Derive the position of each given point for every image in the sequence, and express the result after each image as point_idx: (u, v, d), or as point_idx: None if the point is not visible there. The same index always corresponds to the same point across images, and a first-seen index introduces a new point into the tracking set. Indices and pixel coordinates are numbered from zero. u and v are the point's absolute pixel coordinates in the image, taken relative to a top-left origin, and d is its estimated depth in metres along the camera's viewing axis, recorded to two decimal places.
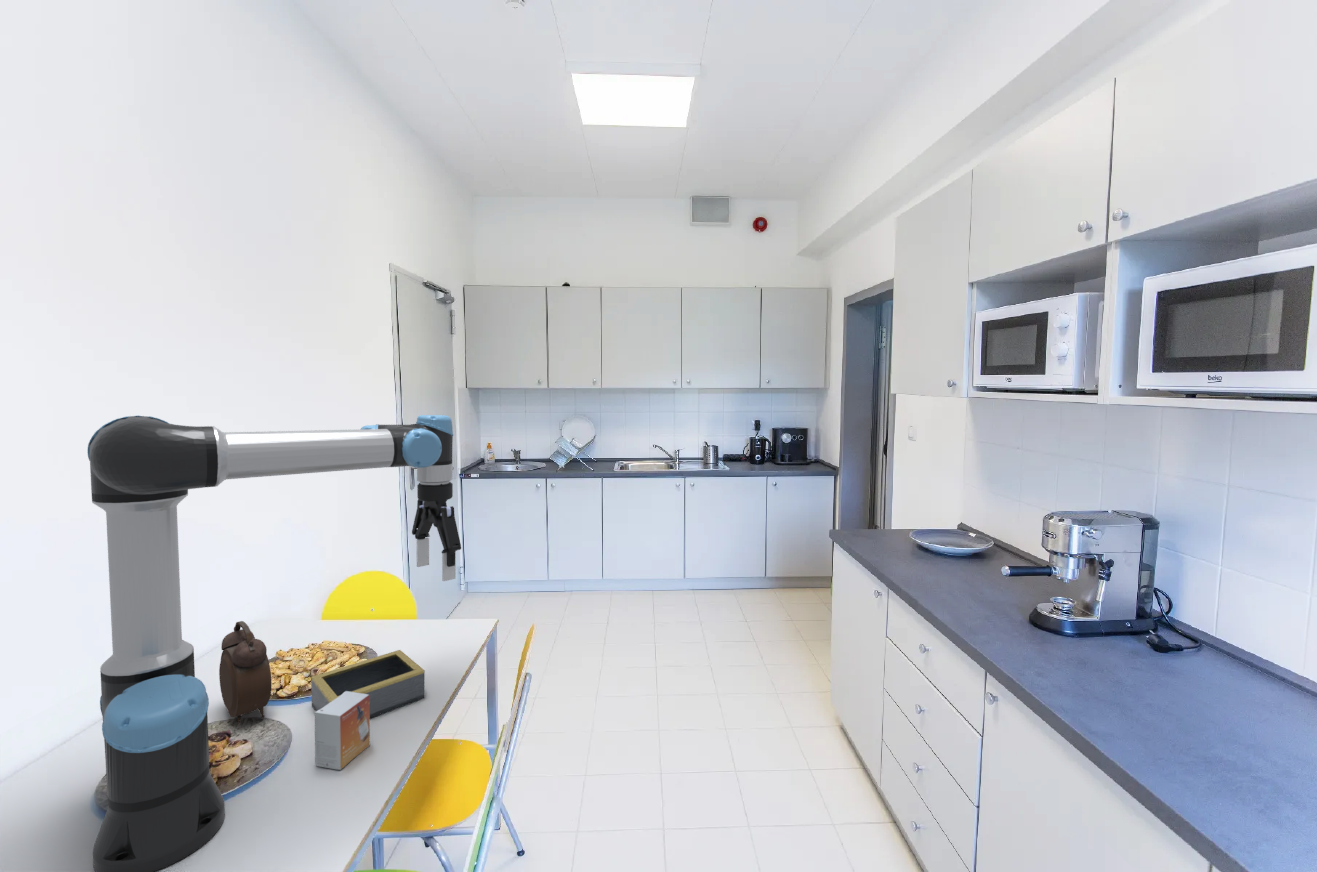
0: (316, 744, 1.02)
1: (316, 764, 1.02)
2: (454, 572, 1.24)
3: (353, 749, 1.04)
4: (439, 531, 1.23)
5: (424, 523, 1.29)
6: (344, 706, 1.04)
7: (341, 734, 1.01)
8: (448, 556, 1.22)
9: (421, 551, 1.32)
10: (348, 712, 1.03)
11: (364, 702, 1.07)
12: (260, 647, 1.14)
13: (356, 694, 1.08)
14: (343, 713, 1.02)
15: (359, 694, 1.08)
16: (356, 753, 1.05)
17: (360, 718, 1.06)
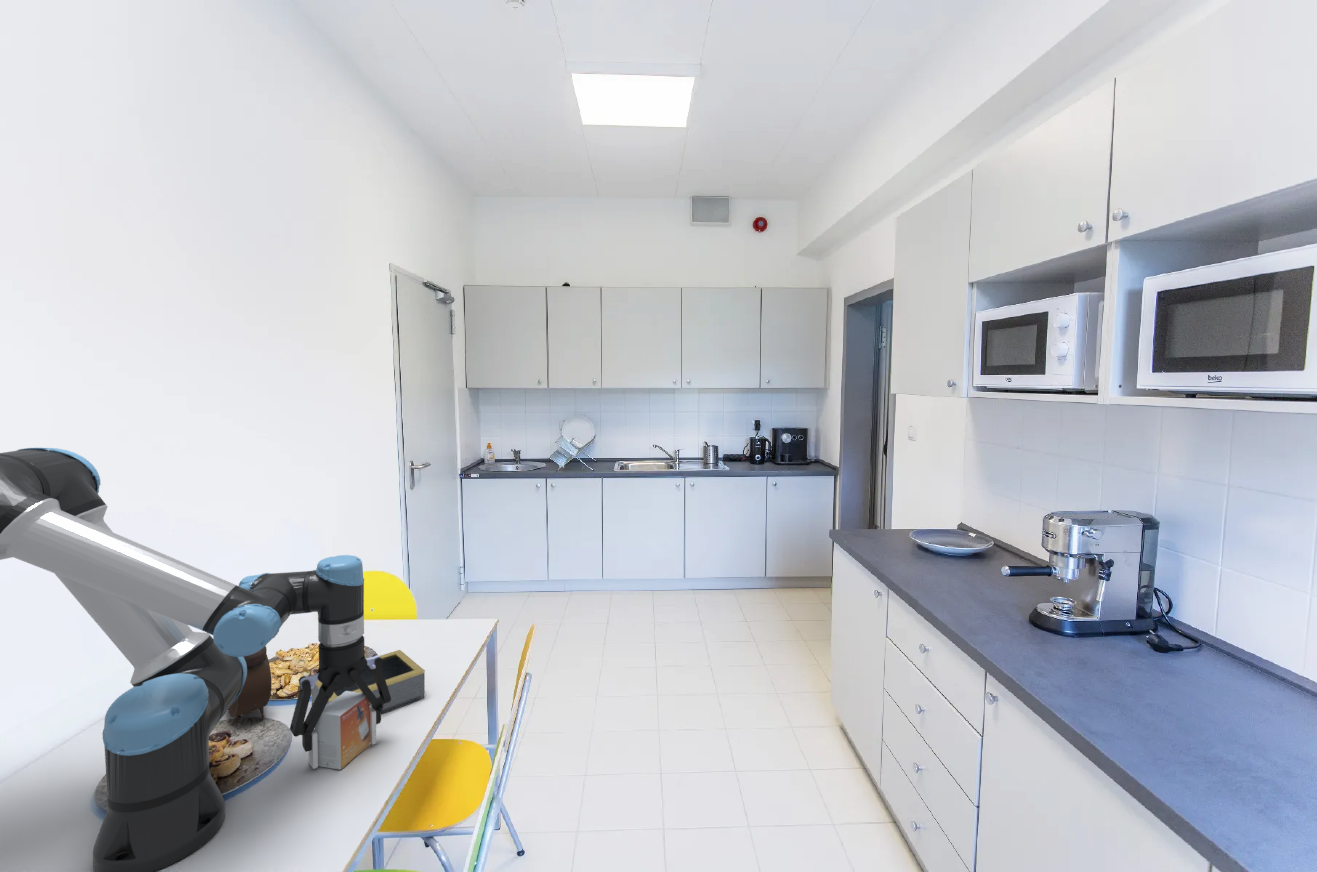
0: None
1: None
2: (312, 760, 1.01)
3: (354, 749, 1.04)
4: None
5: None
6: (344, 706, 1.04)
7: (341, 734, 1.01)
8: None
9: None
10: (348, 712, 1.03)
11: (364, 702, 1.07)
12: None
13: (356, 694, 1.08)
14: (343, 712, 1.02)
15: (359, 694, 1.08)
16: (356, 753, 1.05)
17: (360, 718, 1.06)
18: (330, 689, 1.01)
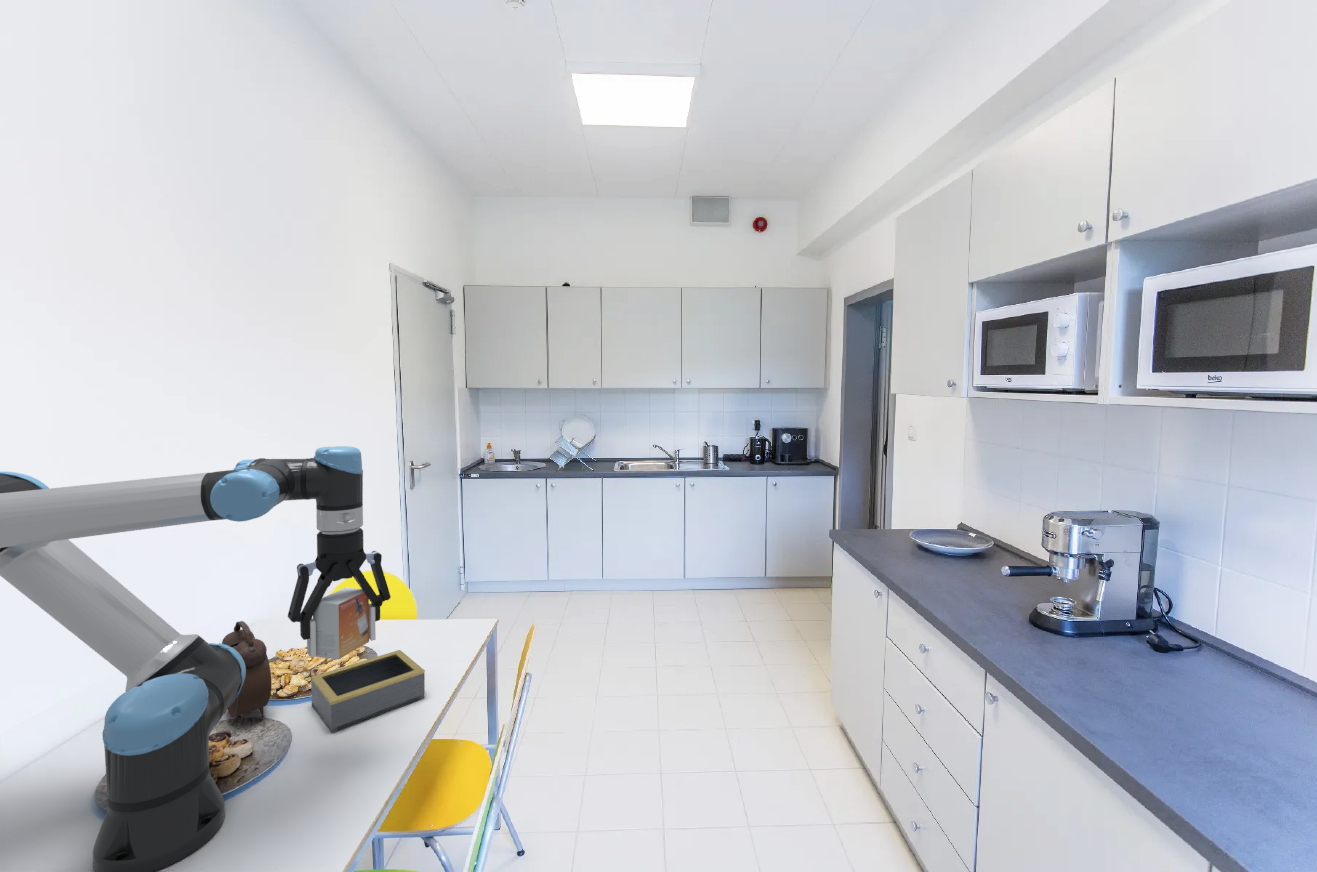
0: None
1: None
2: (310, 649, 0.99)
3: (352, 642, 1.03)
4: None
5: None
6: (342, 597, 1.02)
7: (339, 623, 1.00)
8: None
9: None
10: (347, 602, 1.01)
11: (363, 596, 1.05)
12: (260, 647, 1.14)
13: (355, 589, 1.07)
14: (341, 602, 1.00)
15: (358, 589, 1.07)
16: (355, 646, 1.04)
17: (358, 611, 1.04)
18: (328, 578, 1.00)
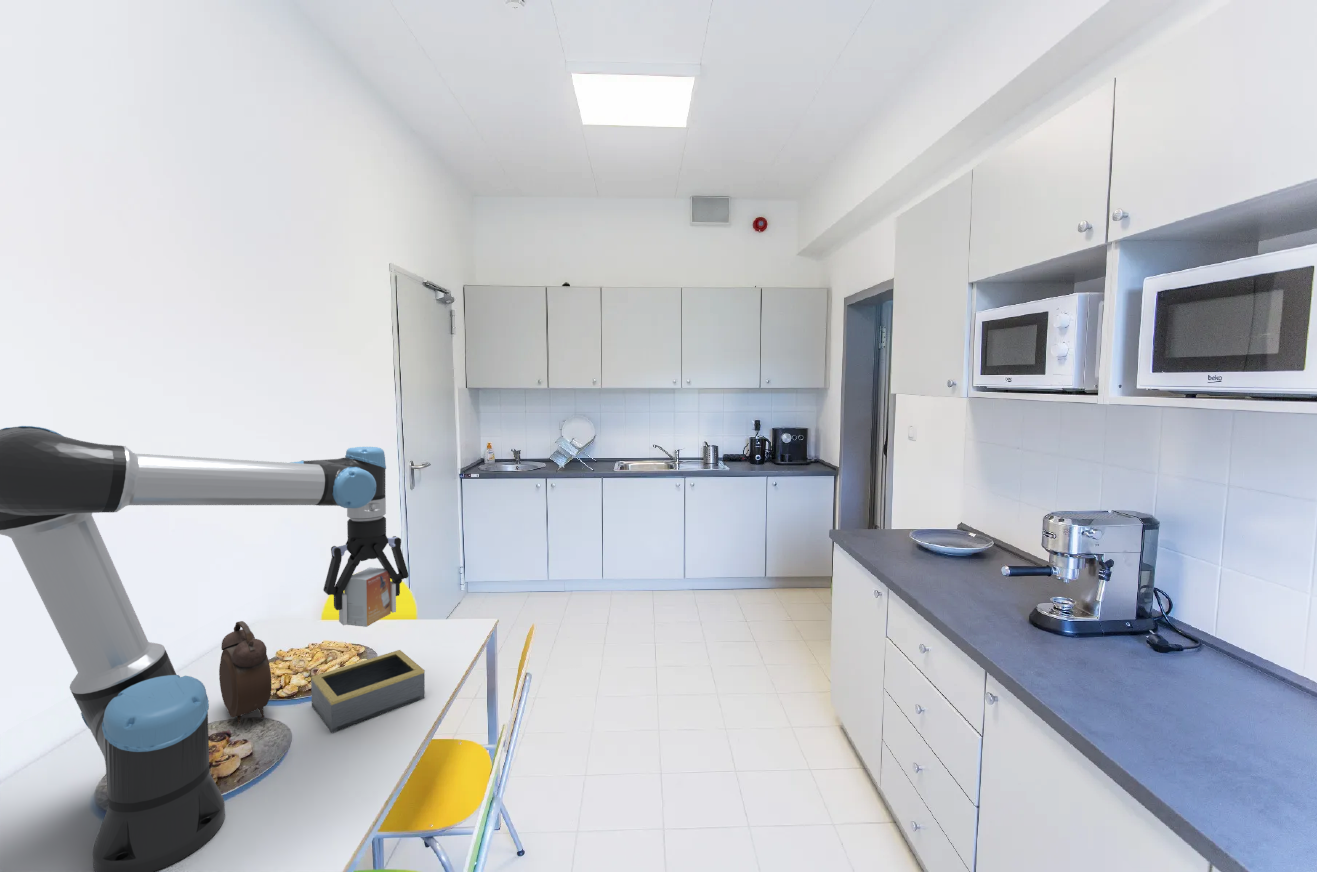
0: None
1: None
2: (342, 618, 1.18)
3: (377, 612, 1.21)
4: None
5: (379, 560, 1.24)
6: (369, 574, 1.20)
7: (367, 596, 1.18)
8: None
9: None
10: (373, 579, 1.19)
11: (385, 574, 1.23)
12: (260, 647, 1.14)
13: (378, 569, 1.25)
14: (368, 578, 1.18)
15: (381, 569, 1.25)
16: (379, 617, 1.22)
17: (382, 587, 1.22)
18: (357, 558, 1.18)
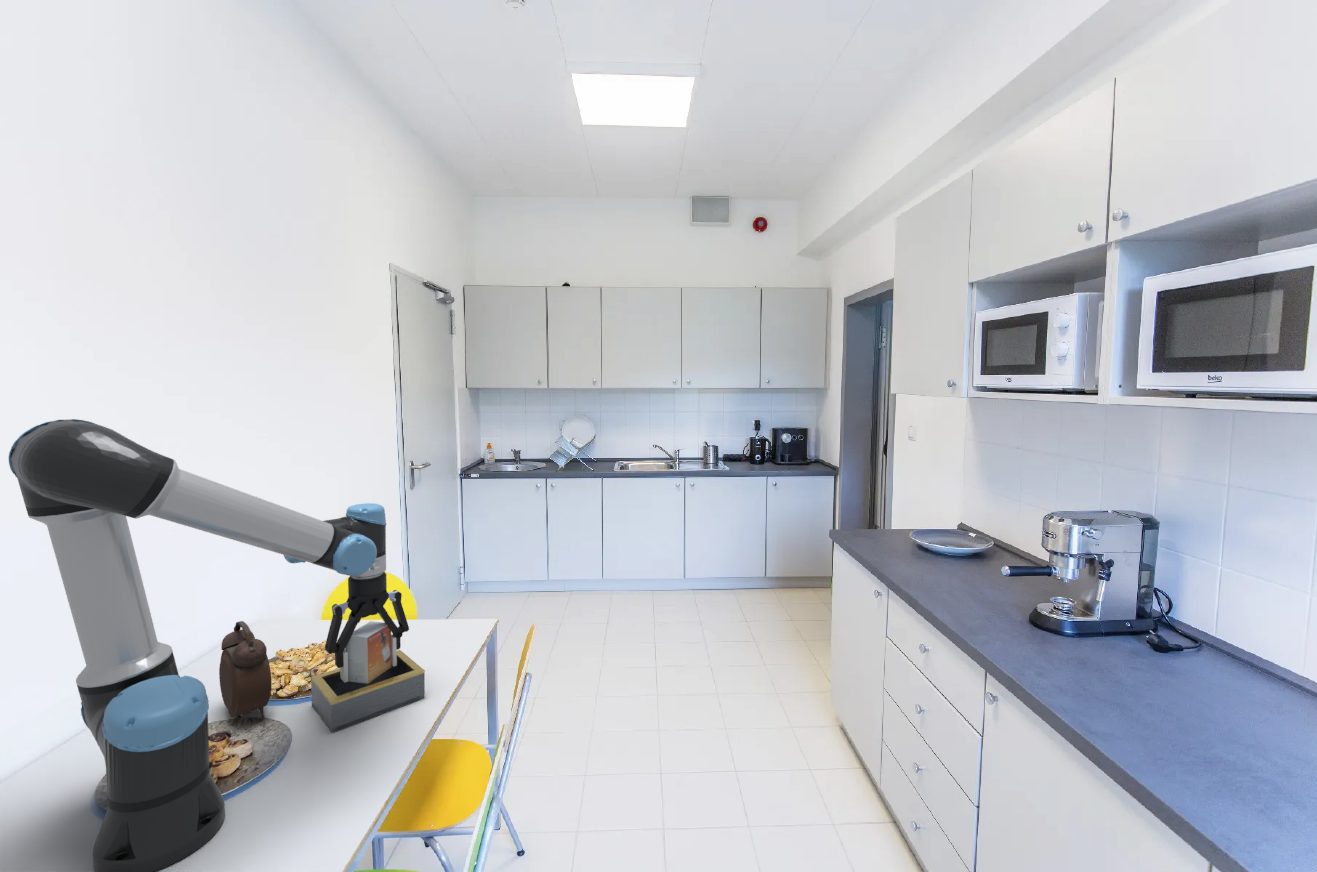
0: None
1: None
2: (344, 675, 1.19)
3: (378, 668, 1.22)
4: None
5: None
6: (370, 631, 1.21)
7: (368, 653, 1.19)
8: None
9: None
10: (374, 635, 1.20)
11: (386, 629, 1.24)
12: (260, 647, 1.14)
13: (379, 623, 1.26)
14: (369, 635, 1.19)
15: (382, 623, 1.26)
16: (380, 672, 1.23)
17: (383, 642, 1.23)
18: (358, 615, 1.19)
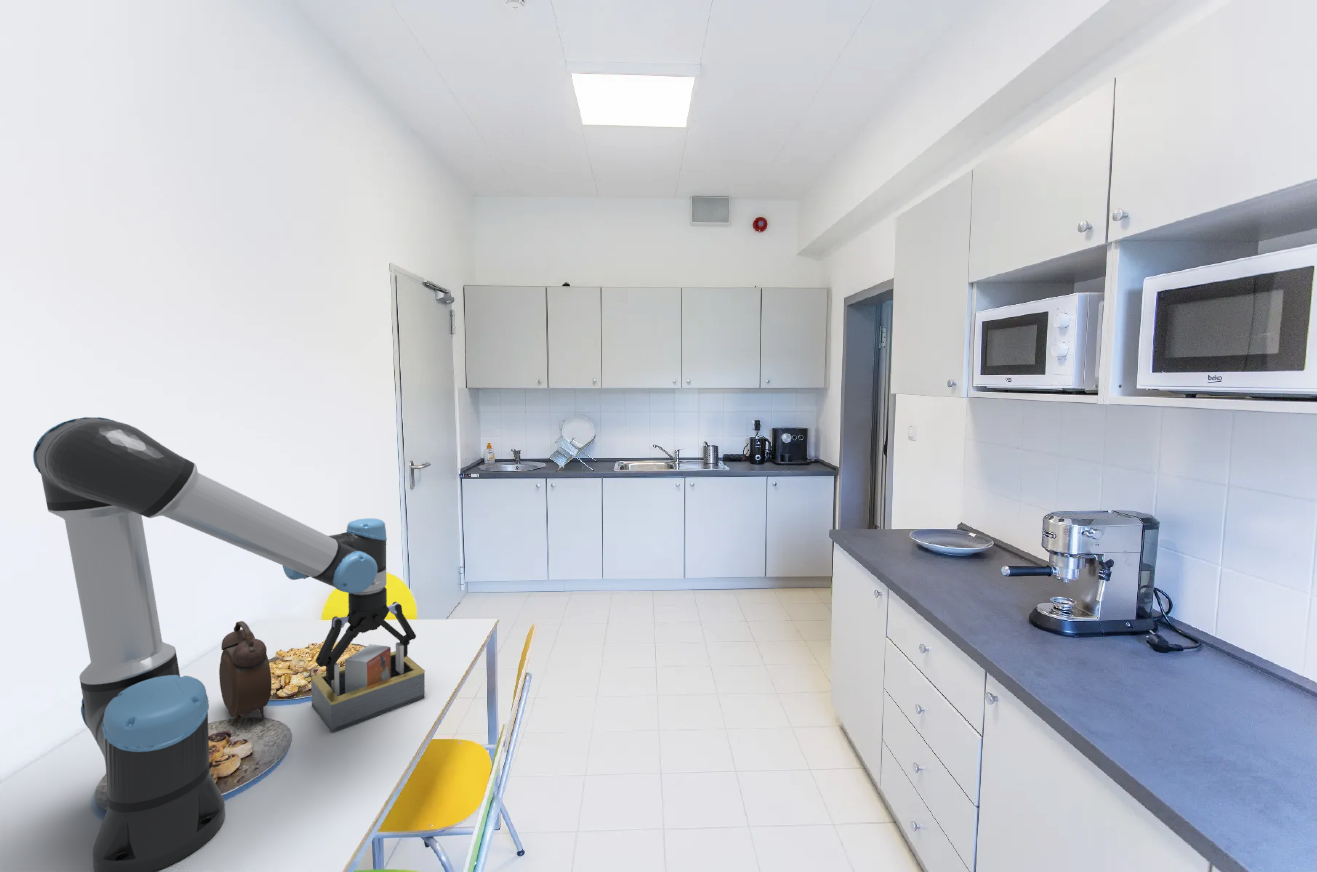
0: (346, 686, 1.20)
1: None
2: (335, 688, 1.17)
3: None
4: None
5: None
6: (369, 655, 1.22)
7: (367, 677, 1.19)
8: None
9: (397, 655, 1.28)
10: (373, 659, 1.21)
11: (386, 653, 1.25)
12: (260, 647, 1.14)
13: (379, 646, 1.26)
14: (369, 659, 1.20)
15: (381, 646, 1.26)
16: None
17: (382, 666, 1.24)
18: (356, 630, 1.19)
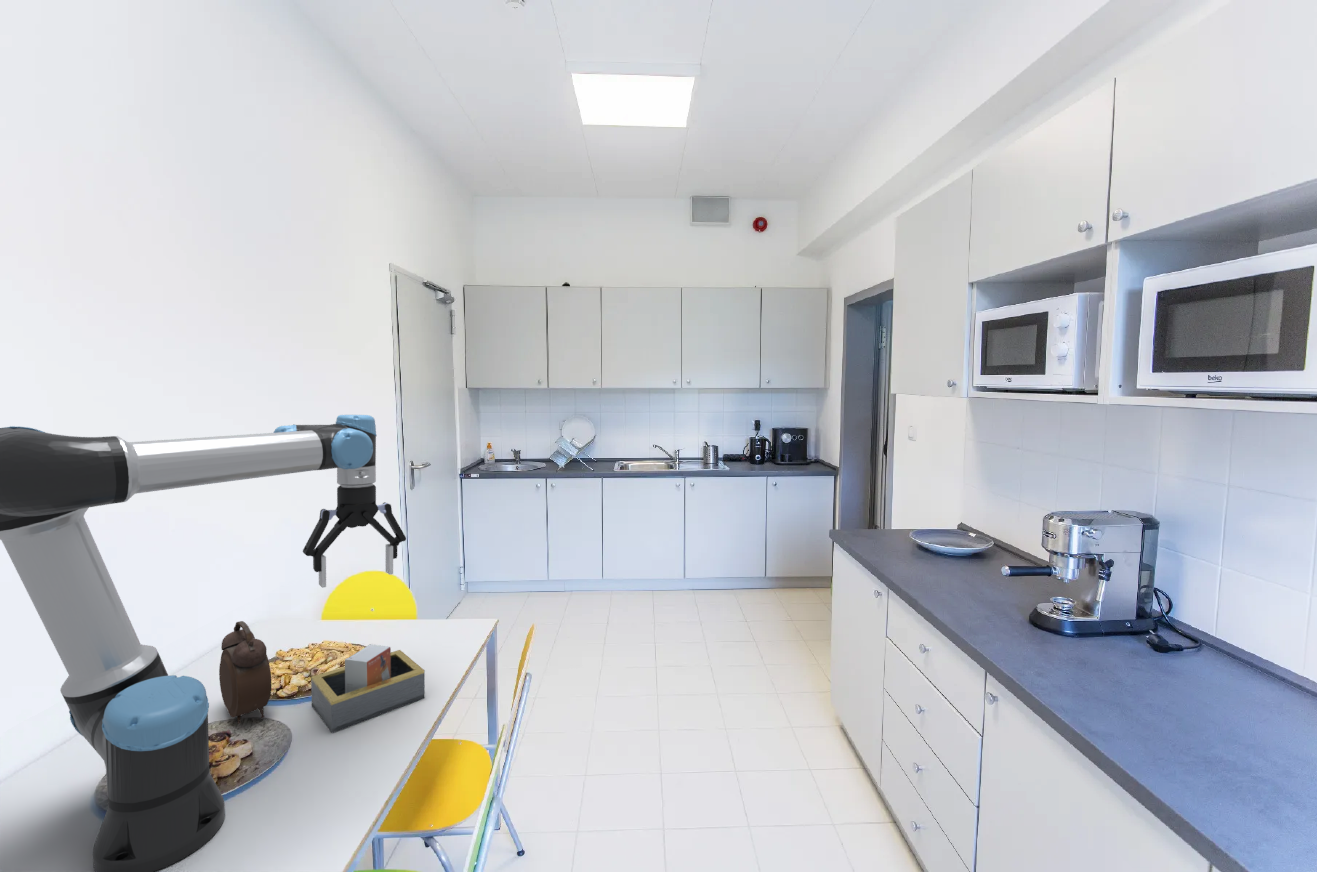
0: (346, 686, 1.20)
1: None
2: (321, 580, 1.17)
3: None
4: None
5: (373, 526, 1.25)
6: (369, 655, 1.22)
7: (367, 677, 1.19)
8: None
9: (386, 557, 1.27)
10: (373, 659, 1.21)
11: (386, 653, 1.25)
12: (260, 647, 1.14)
13: (379, 646, 1.26)
14: (369, 659, 1.20)
15: (381, 646, 1.26)
16: None
17: (382, 666, 1.24)
18: (344, 523, 1.19)
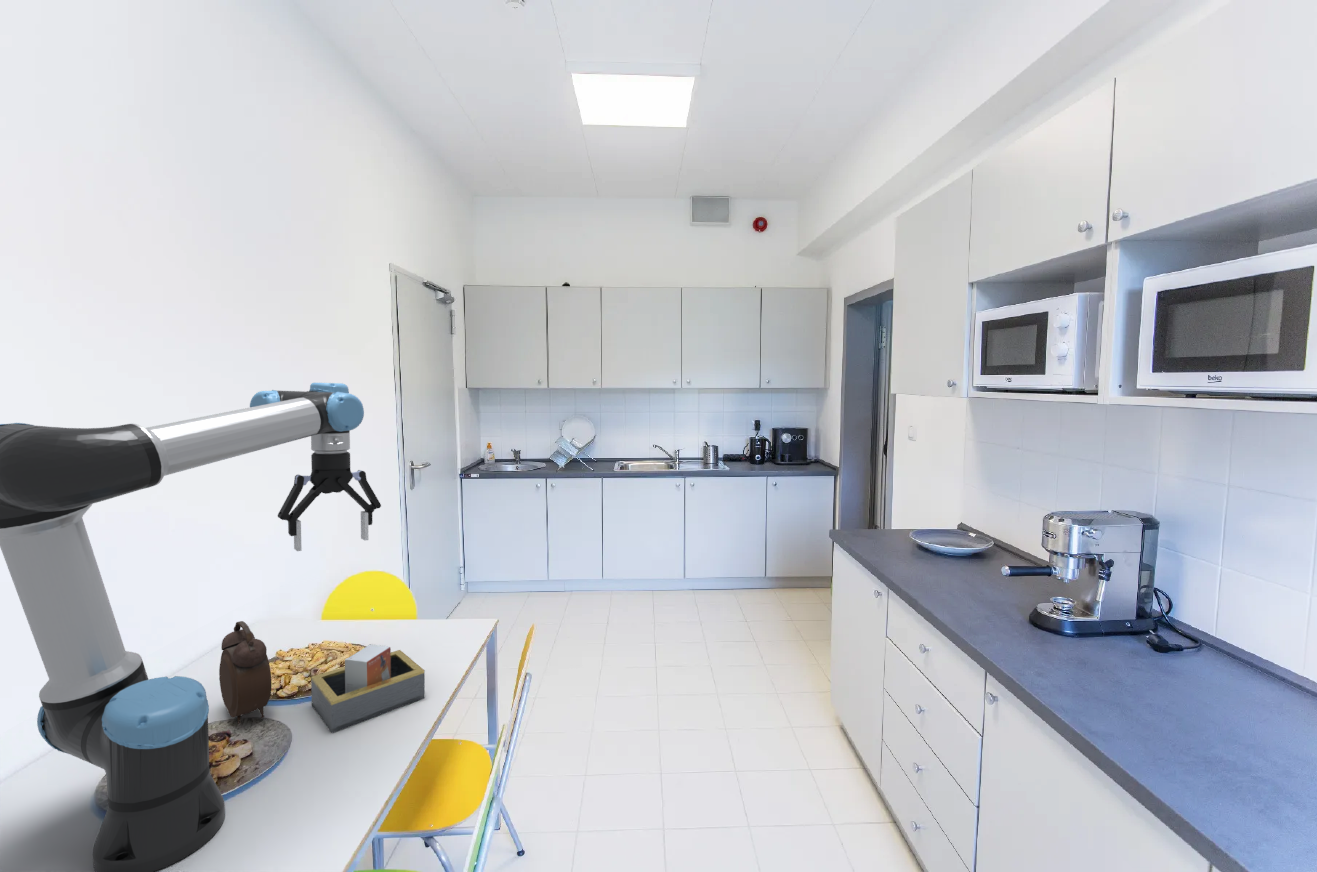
0: (346, 686, 1.20)
1: None
2: (297, 544, 1.19)
3: None
4: None
5: (347, 493, 1.28)
6: (369, 655, 1.22)
7: (367, 677, 1.19)
8: None
9: (362, 523, 1.30)
10: (373, 659, 1.21)
11: (386, 653, 1.25)
12: (260, 647, 1.14)
13: (379, 646, 1.26)
14: (369, 659, 1.20)
15: (381, 646, 1.26)
16: None
17: (382, 666, 1.24)
18: (319, 489, 1.21)
